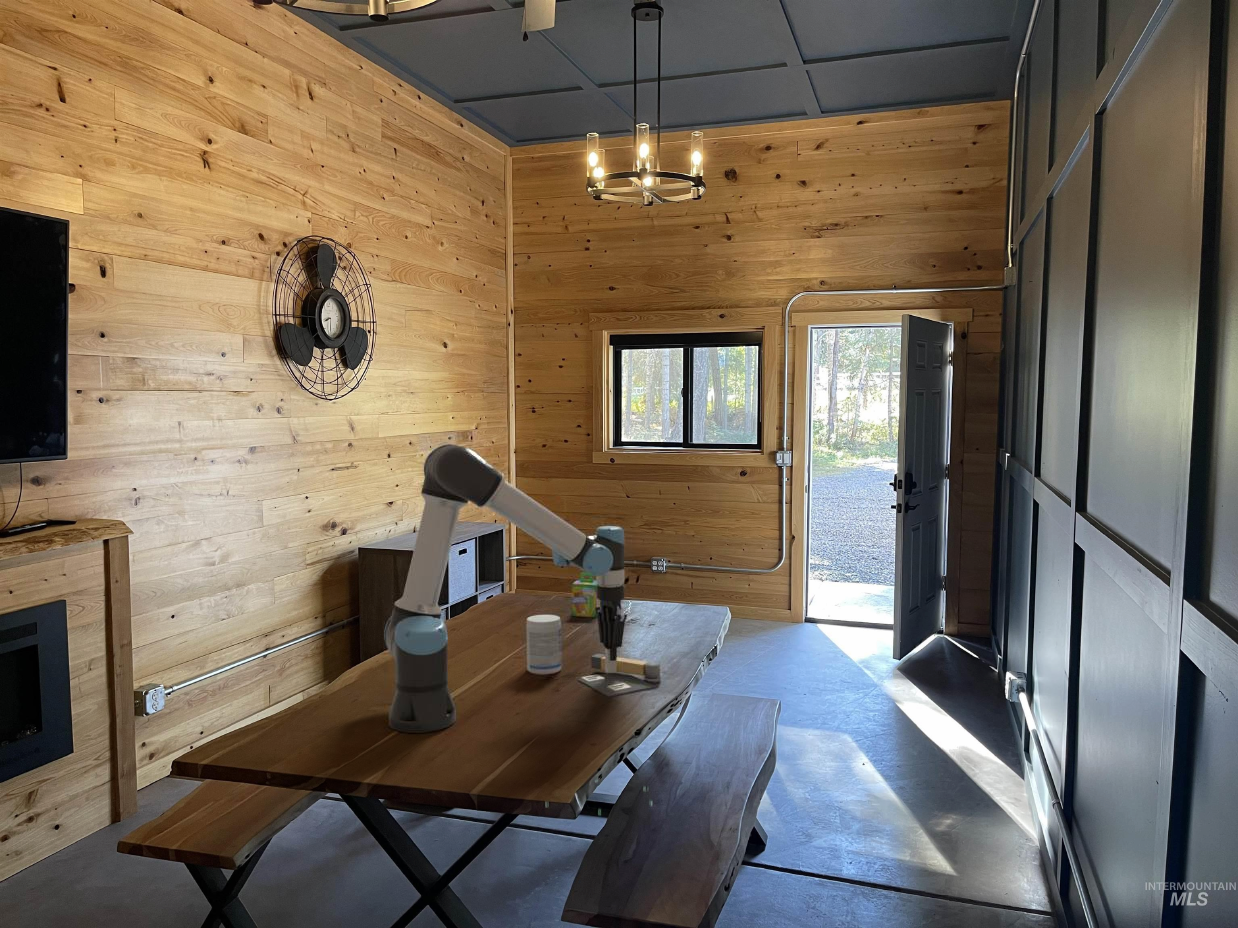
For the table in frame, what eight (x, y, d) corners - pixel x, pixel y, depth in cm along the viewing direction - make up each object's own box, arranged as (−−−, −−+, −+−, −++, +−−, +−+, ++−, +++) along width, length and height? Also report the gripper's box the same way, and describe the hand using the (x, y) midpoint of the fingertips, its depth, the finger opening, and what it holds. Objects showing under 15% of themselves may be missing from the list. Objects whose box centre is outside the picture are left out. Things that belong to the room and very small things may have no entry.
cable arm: (590, 668, 238) (590, 656, 238) (598, 664, 242) (598, 653, 242) (655, 678, 229) (655, 667, 228) (662, 674, 232) (662, 663, 232)
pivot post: (650, 684, 228) (650, 680, 228) (640, 680, 232) (640, 675, 232) (663, 681, 231) (663, 677, 231) (654, 677, 234) (654, 673, 234)
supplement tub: (567, 671, 240) (567, 619, 239) (537, 677, 235) (536, 623, 234) (550, 663, 248) (550, 612, 247) (520, 668, 243) (520, 616, 242)
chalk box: (571, 616, 304) (570, 574, 303) (576, 610, 313) (576, 570, 312) (596, 617, 303) (596, 575, 302) (601, 611, 312) (601, 570, 311)
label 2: (614, 692, 222) (614, 689, 222) (606, 688, 225) (606, 685, 225) (631, 689, 224) (631, 686, 224) (623, 685, 228) (623, 682, 228)
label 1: (588, 683, 229) (588, 680, 229) (581, 679, 233) (581, 676, 233) (604, 680, 232) (604, 677, 232) (597, 676, 235) (597, 673, 235)
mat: (608, 697, 219) (608, 695, 219) (578, 680, 232) (578, 678, 232) (655, 687, 226) (655, 686, 226) (622, 672, 239) (622, 670, 239)
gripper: (635, 586, 229) (635, 675, 230) (610, 579, 240) (610, 663, 241) (610, 589, 225) (611, 679, 226) (586, 581, 236) (586, 667, 238)
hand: (610, 671), depth 234 cm, fingers closed
